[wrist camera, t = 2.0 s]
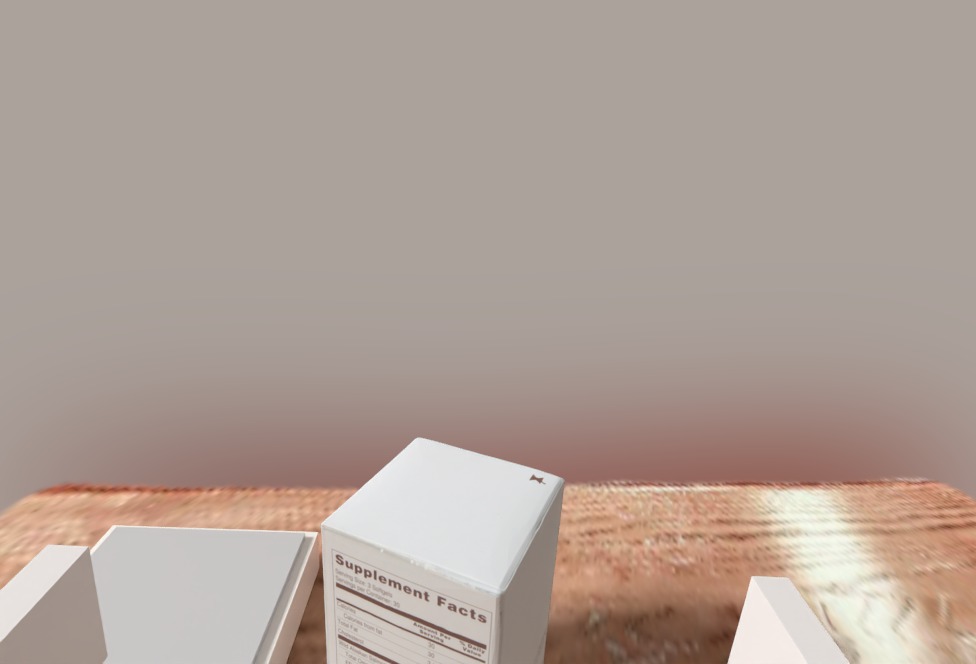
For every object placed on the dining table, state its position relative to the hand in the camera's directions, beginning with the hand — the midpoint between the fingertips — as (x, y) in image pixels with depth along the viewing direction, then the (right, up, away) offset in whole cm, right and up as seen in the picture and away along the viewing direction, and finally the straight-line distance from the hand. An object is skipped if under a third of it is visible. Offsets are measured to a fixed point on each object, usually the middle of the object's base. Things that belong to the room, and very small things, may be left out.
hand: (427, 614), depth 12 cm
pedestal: (-15, -10, +18) cm, 26 cm away
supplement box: (-1, -13, +15) cm, 20 cm away
